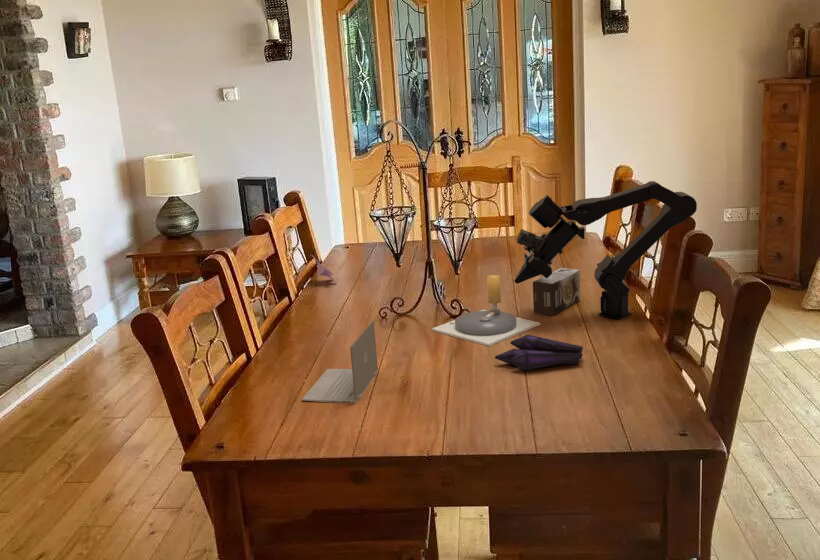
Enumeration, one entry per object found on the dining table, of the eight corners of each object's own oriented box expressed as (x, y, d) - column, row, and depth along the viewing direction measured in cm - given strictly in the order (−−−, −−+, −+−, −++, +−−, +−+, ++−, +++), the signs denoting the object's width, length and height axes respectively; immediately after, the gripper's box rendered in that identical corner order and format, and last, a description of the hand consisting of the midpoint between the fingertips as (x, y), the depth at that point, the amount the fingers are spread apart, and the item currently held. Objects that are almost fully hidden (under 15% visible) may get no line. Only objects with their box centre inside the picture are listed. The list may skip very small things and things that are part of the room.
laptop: (327, 371, 195) (322, 319, 191) (378, 372, 192) (374, 319, 189) (301, 402, 178) (295, 345, 175) (357, 404, 175) (351, 346, 172)
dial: (501, 338, 206) (499, 293, 203) (444, 331, 214) (442, 288, 211) (525, 318, 219) (524, 276, 216) (471, 313, 227) (469, 272, 224)
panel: (539, 324, 216) (539, 321, 216) (489, 346, 203) (488, 342, 203) (482, 311, 230) (482, 308, 230) (432, 330, 218) (431, 327, 217)
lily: (332, 293, 263) (342, 265, 263) (297, 280, 263) (307, 252, 264) (335, 294, 275) (345, 267, 275) (301, 282, 275) (312, 255, 276)
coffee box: (581, 300, 234) (553, 316, 222) (560, 297, 238) (532, 313, 226) (580, 269, 232) (553, 284, 220) (559, 266, 236) (531, 281, 224)
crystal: (582, 330, 192) (496, 325, 194) (586, 352, 181) (495, 347, 183) (580, 357, 194) (495, 353, 197) (584, 381, 184) (494, 375, 186)
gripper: (531, 212, 223) (491, 254, 226) (537, 226, 205) (494, 271, 209) (560, 239, 224) (521, 280, 228) (570, 255, 206) (527, 300, 210)
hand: (515, 282), depth 219 cm, fingers closed
